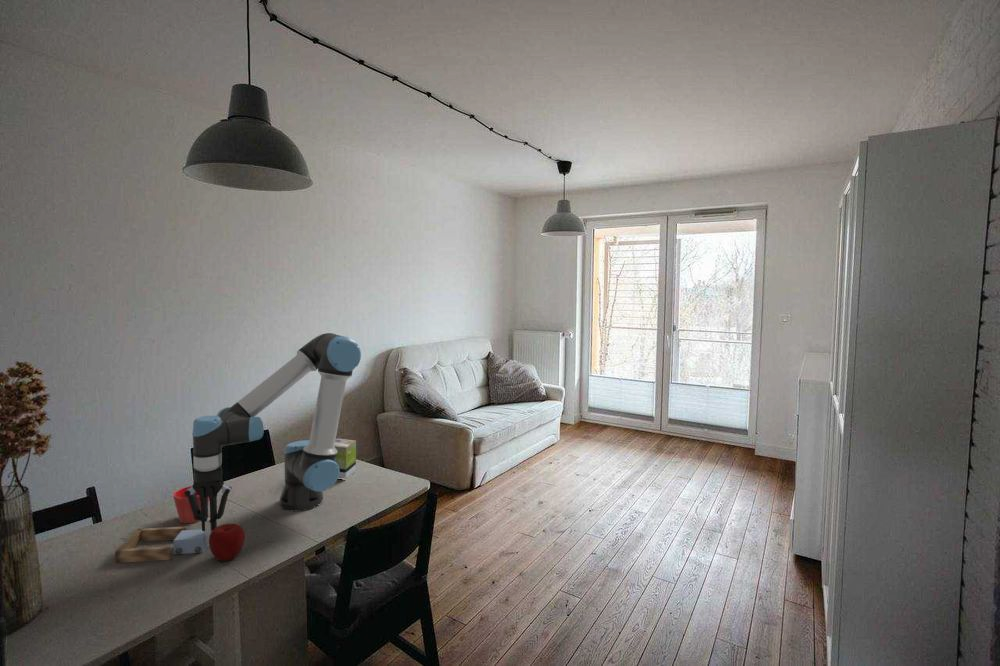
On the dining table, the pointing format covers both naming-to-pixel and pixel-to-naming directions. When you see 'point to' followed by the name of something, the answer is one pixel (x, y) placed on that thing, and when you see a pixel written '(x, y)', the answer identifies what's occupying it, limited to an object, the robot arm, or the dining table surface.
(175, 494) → the flower pot
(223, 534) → the apple
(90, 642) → the dining table surface
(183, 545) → the block
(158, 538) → the bay
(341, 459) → the tea box
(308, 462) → the robot arm
